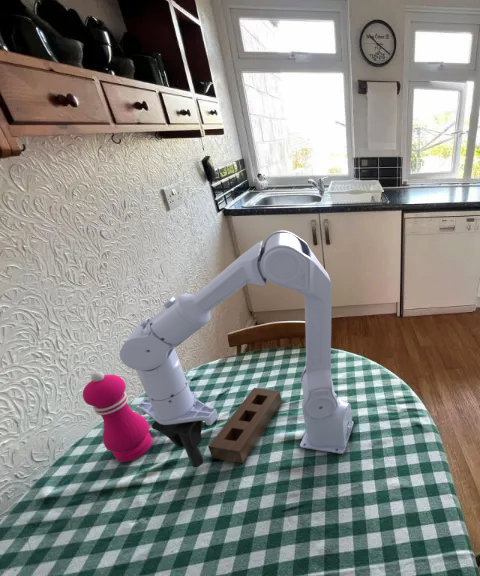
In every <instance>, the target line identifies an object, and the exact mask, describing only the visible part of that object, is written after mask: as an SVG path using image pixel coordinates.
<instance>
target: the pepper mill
mask: <svg viewBox="0 0 480 576" xmlns="http://www.w3.org/2000/svg"><path fill="white" fill-rule="evenodd" d="M90 376H91V377H90V379H91V381H89V382H88V383H87V384H86V385H85V386H84V388H83V391H82V398H83V401H84V402H85V403H86V404H87V405H89V406H92V409H93V410H94V413H95V414H96V415H99V416H101V418H102V420H103V432H102V442H103V445H104V447H105V449H106V450H107V451H109V452H112V455H113V456H114V458H115V459H116V461H117V462H120V463H127V462H131V461H133V460H136V459H138V458H140V457H142V456H143V455H144V454H145V453H146V452H148V450H149V449H151V447H152V444H153V438H152V435H151V433H150V432H149V431H150V423H149V422H148V421H147V419H146V418H145V417H144V416H143V415H140V414H139V413H137V412H135V411H134V410H133V409H131V407H130V405H129V403H128V401H129V396H128V395H127V392H126V389H127V385H126V382H125V380H124V379H123V378H122V377H120V376H119V375H116V374H105V373H104V372H102V371H96V372H95V371H94V373H92V374H91V375H90Z"/></svg>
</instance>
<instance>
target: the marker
mask: <svg viewBox="0 0 480 576" xmlns="http://www.w3.org/2000/svg"><path fill="white" fill-rule="evenodd" d="M179 437H180V439H181V441H182V443H183V447H184V451H185V453H186V455H187V458H188V460H189V462H190V464H191V467H193V468H199V467H200V466H201V465H203V464H204V458H203V454H202V453H201V452H202V451H201V450H200V447H199V445H198V446H197V447H196V448H195V449H194V450H192V449H190V448H189V447H188V446H187V444H186V442H185V441H184V439H183V438H182V437H181V436H180V435H179Z"/></svg>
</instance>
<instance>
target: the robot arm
mask: <svg viewBox="0 0 480 576" xmlns="http://www.w3.org/2000/svg"><path fill="white" fill-rule="evenodd" d="M263 242H264V244H263ZM267 281H268V282H270V283H272V284H273V285H276V286H279V287H282V288H286V289H290V290H293V291H296V292H297V293H299V294H301V295H302V296H303V297H304V330H305V332H304V333H305V334H304V335H305V367H304V370H303V371H302V373H301V376H300V381H301V384H302V396H303V399H302V403H301V409H302V415H303V420H304V426H305V433H304V435H303V437H302V440H301V442H300V444H299V447H300V448H302V449H309V450H314V451H320V452H321V451H322V452H328V453H333V454H339V455H343V454H344V453H345V451H346V447H347V445H348V442H349V439H350V437H351V432H352V429H353V427H354V421H353V415H352V413H353V412H352V405H351V403H350V402H347V401H344V400H341V399H340V398H339V396H338V395H337V393H335V387H334V383H333V378H332V376H333V375H332V311H333V309H332V303H333V302H332V301H333V300H332V299H333V286H332V280H331V278H330V275H329V274H328V272H327V270H326V269H325V268H324V266H323V265H322V263H321V262H320V261H319V260H318V258H317V257H316V255H315V254H314V252H313V250H312V249H311V248H310V246H309V244H308V243H307V242H306V241H305V240H304V239H302V238H300V237H299V236H298V235H296V234H295V233H293V232H291V231H289V230H277V231H274V232H272V233H271V234H269V235H268V236H267V237H266V239H265V241H264V240H263V239H262V240H260V241H259V242H256V243H255V244H254V245H252V246H251V247H250V248H249V249H247V250H246V251H244V252H243V253H242V254H241V255H240V256H238V257H237V258H236V259H235V260H234V261H233V262H231V263H230V264H229V265H228V266H227V267H226V268H224V269H223V270H222V271H221V272H220V273H219V274H217V275H216V276H215V277H214V278H213V279H211V281H210V282H208V283H207V284H205V286H203V287H202V288H201V289H199V291H198V292H197V293H195V294H194V293H184V294H181V295H178V297H176V298H175V297H174V296H170V297H169V298H168V299H167V300H166V301H165V302H164V303H163V307H164V308H163V309H161V310H160V311H158V312H157V313H156V314H155V315H154V316H152V317H151V318H150V317H146V318H144V320H142V321H141V322H140V324H139V325H138V326H137V327H136V328H135V329H134V331H133V332H132V333H131V334H130V335H129V337H128V338H127V339H126V341H125V342H124V343H123V345H122V346H121V348H120V350H119V358H120V361H121V362H122V363H123V364H124V365H125V366H126V367H127V368H130V369H131V370H134V371H136V375H137V376H138V378H139V380H140V383H141V385H142V388H143V390H144V392H145V395H146V396H147V398H144V399H143V400H142V401H141V402H139V404H137V405H136V406H135V408H136V410H137V412H138V414H139V415H141V416H145V415H148V416H149V417H150V418H152V420H154V422H153V423H152V424H151V428H152V430H155V431H157V432H159V433H161V434H163V435H164V436H165V437H167V438H168V439H169V440H170V441H171V442H172V443H173V444H174V445H175V446H177V447H178V448H183V447H184V445H183V443H182V441H181V439H180V437H179V435H180V436H181V437H182V438H183V439H184V441H185V442H186V444H187V446H188V447H189V448H190V449H192V450H194V449H195V448H196V447H197V446H198V447H199V444H201V442H202V430H203V429H202V428H203V423H205V425H206V426H212V425H213V424H214V423H215V421H216V420H217V419H218V418H219V414H218V412H217V411H218V410H217V408H213V407H211V406H208V405H206V404H205V403H203V402H202V401H200V400H199V399H197V398H196V397H197V396H198V394H197V392H195V391H191V388H190V386H189V383H188V380H187V377H186V375H185V372H184V370H183V367H182V363H181V361H180V359H179V356H178V354H177V350H176V349H175V348H177V347H178V346H180V345H182V344H183V343H184V342H185V341H186V340H188V339H189V338H190V337H191V336H193V335H194V334H195V333H196V332H198V331H199V330H200V329H202V328H203V327H204V326H205V325H207V324H208V323H209V322H210V321H211V319H212V317H211V316H212V314H211V313H212V312H211V311H212V310H213V309H214V308H216V307H217V306H218V305H220V304H221V303H222V302H224V301H226V299H229V298H230V297H231V296H232V295H234V294H235V293H236V292H238V291H239V290H242V288H244V287H245V286H246V285H248V284H251V285H257V286H264V287H265V286H267Z"/></svg>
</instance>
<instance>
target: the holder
mask: <svg viewBox="0 0 480 576" xmlns="http://www.w3.org/2000/svg"><path fill="white" fill-rule="evenodd" d="M282 402H283V400H282V396H281V391H280V390H275V389H268V388H267V389H266V388H259V387H254V388H252V390H251V391H250V392H249V393H248V395H247V396H246V397H245V398H244V399H243V401H242V402H241V403H240V404H239V406H238V407H237V409H236V410H235V411H234V413H233V414H232V415H231V416H230V418H229V419H228V420H227V421H226V423H224V426H222V428H221V429H220V430H219V432H218V433H217V434H216V435H215V437H214V438H213V440H212V441H211V442H210V443H209V444H208V445H207V448H208V450H209V452H210V455H211V458H212V459H215V460H220V461H225V462H230V463H231V462H232V463H236V464H237V463H238V464H244V462H245V461H246V460H247V457H248V456H249V455H250V453H251V452H252V450H253V448H254V447H255V445H256V443H257V442H258V441H259V439H260V437H261V436H262V434H263V433H264V431H265V430H266V427H267V426H268V425H269V424H270V422H271V420H272V418H273V417H274V415H275V413H276V412H277V410H278V409H279V407H280V406H281V404H282Z"/></svg>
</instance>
